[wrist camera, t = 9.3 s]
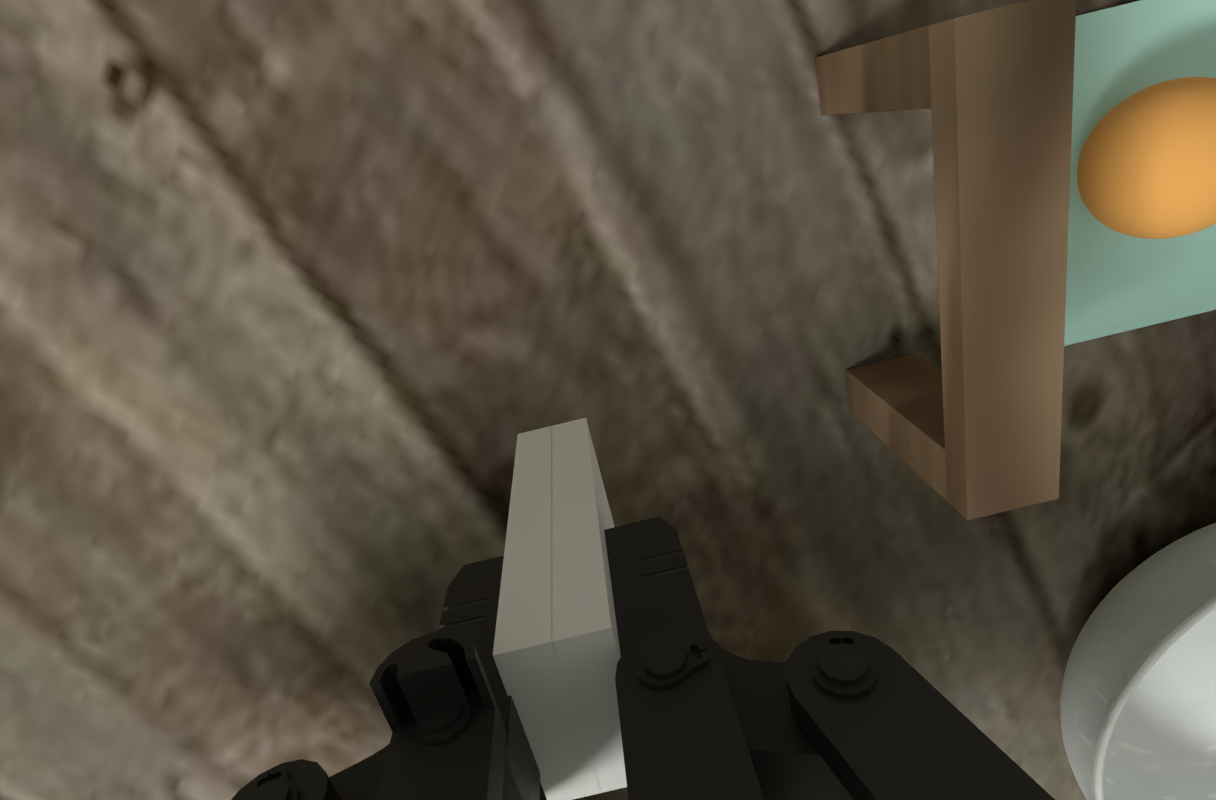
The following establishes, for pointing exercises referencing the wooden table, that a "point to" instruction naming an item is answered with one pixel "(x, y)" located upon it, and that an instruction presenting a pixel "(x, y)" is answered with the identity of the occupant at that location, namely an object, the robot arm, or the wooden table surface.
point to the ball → (1154, 161)
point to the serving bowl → (1148, 681)
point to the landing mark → (1103, 77)
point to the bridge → (980, 248)
